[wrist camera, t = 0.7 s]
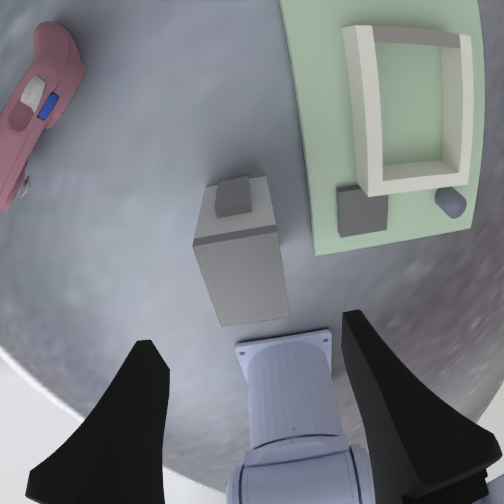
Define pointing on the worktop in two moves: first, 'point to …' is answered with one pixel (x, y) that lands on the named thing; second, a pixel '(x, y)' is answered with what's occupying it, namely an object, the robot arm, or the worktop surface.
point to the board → (387, 116)
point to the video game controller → (37, 104)
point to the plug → (241, 252)
